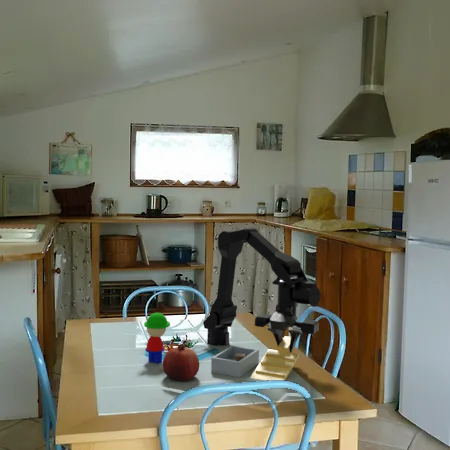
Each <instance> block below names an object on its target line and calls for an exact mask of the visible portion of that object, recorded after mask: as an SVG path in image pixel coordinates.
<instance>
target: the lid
mask: <svg viewBox="0 0 450 450" xmlns="http://www.w3.org/2000/svg"><path fill="white" fill-rule="evenodd" d="M290 340H291V336H288V335H287V336H286V335H284V337H282V341H281V343H280V344H279V346H277V349H270V348H268V349H267V351H265V354H264V356H263V357H262V358H261V360H260V361H259V364H257V365H256V368H255V369H254V370H253V372H252V374H251V375H250V378H251V379H255V380H260V381H266V380H285V381H286V380H287V379H288V377H289V375H290V373H291V371H292V370H293V368H294V366H295V364H296V362H297V360H298V359H299V357H300V354H299V353H295V352H291V353H290Z"/></svg>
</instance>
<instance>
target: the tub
mask: <svg viewBox="0 0 450 450" xmlns="http://www.w3.org/2000/svg"><path fill="white" fill-rule="evenodd" d="M235 353H242V354H245V357H244V358H243V359H241V360H240V361H233V360H227V359H235ZM259 359H260V350H259V349H257V348H250V347H244V346H237V345H230V346H229V347H227V348H225V349H224V350H222V351H221V352H219V353H217V354H215V355H214V356H212V357H211V359H210V360H211V361H210V362H211V363H210V364H211V367H210V372H211V373H214V374H220V375H224V376H231V377H235V378H241V377H243V376H244V375H245V374H247V373H248V372H249V371H251V370H252V369H253V368H254V367H257V366H258V365H259V363H260V360H259Z"/></svg>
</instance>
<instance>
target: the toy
mask: <svg viewBox="0 0 450 450" xmlns="http://www.w3.org/2000/svg"><path fill="white" fill-rule="evenodd" d="M143 326H144V327H145V328H146V331H147V333H148V335H149V336H150V337H149V338H148V340H147V342H146V348H145V350H144V351H145V352H147V353H148V358H147V359H148V362H149V363H154V364H163V352H164V351H165V348H164V344H163V341H162V338H161V337H162V336H163V335H165V333H166V330H167V328H170V326H171V322H170V321H169V320H167V317H166V316H165V315H164V314H163V313H161V312H154V313H151V314H150V315H149V316H148V318H147V319H146V321H145V322H144V325H143Z"/></svg>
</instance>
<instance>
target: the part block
mask: <svg viewBox="0 0 450 450" xmlns="http://www.w3.org/2000/svg"><path fill="white" fill-rule="evenodd" d="M244 357H245V354H242V353H235V360H237V361H240V360H241V359H243V358H244Z"/></svg>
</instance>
